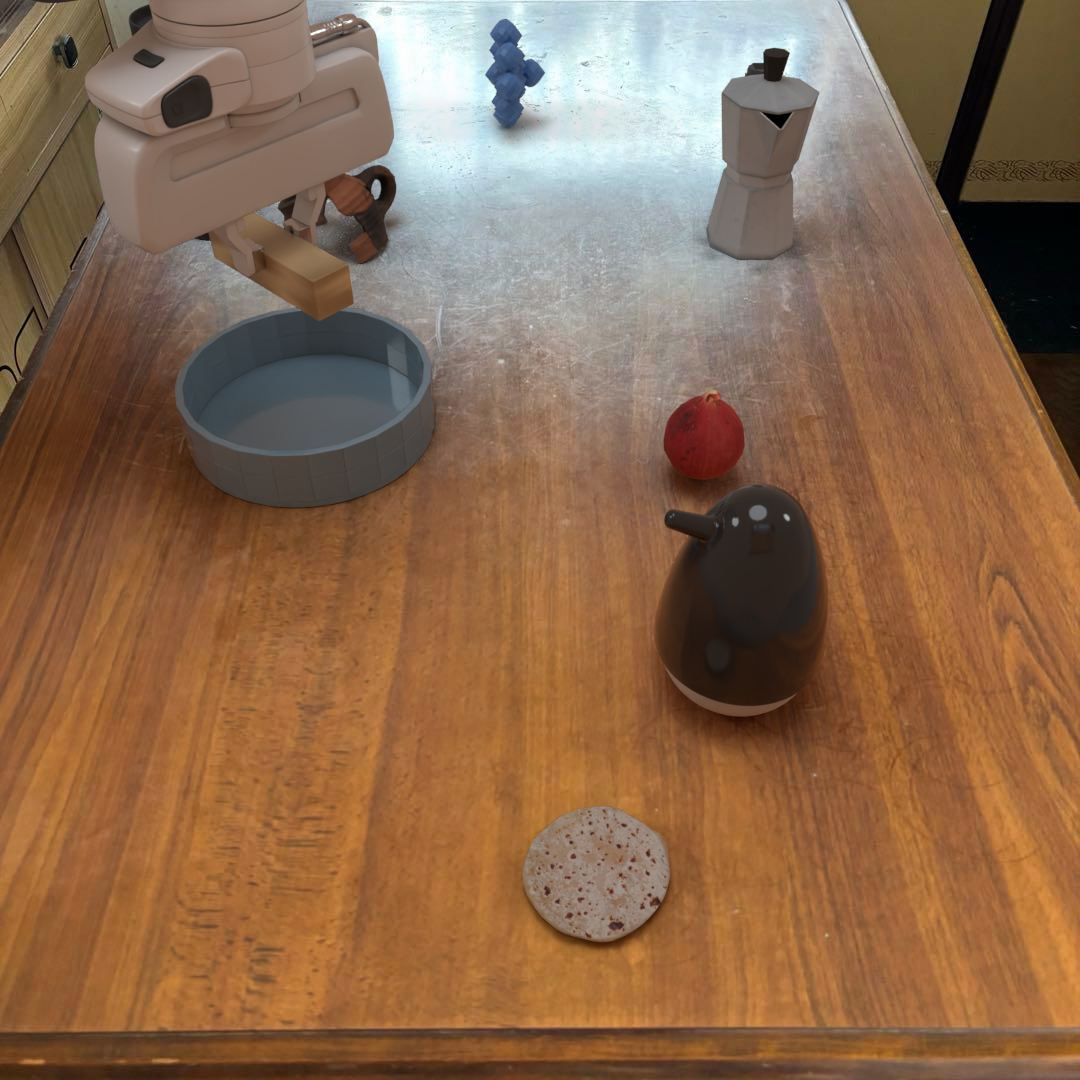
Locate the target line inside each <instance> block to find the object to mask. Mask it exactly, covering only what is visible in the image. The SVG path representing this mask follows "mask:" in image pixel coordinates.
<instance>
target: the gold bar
mask: <svg viewBox="0 0 1080 1080" xmlns="http://www.w3.org/2000/svg"><path fill="white" fill-rule="evenodd" d="M243 220H244V225H245V230H244V231H242V232H240V233H239V232H238V234H239V235H240V236H241V238H242V239H243V240H244V239H246V238H249V239H251V240H252V241H254V243H258V244H259V245H261V246H263V247H264V252H265V253H264V256H265V258H264V260H265V261H266V269H264V270H262V271H259V272H257V273H255V274H253V275H251V276H249V277H247V276H245V275H244V274H242V273H241V272H239V271H238V270H237V269H236V268H235V265H234V262H233V258H232V253H231V249H230V247H229V246H228V245H227V244H226V243H225V242H224V241H223V240H221V239H220V238H219V237H218V236H217V235H216V234H215V233H214V232H213V231H210V232H209V237H210V240H209V241H210V244H211V249H212V253H213V258H214V259H216V260H218V261H220V262H221V263H222V264H224V265H226V266H227V267H229V268H231V269H233V270H234V271H235V272H237V273H239V274H241V275H242V276H244V277H245V278H247V279H249V280H250V281H252V282H254V283H256V284H257V285H259V286H260V287H262V288H264V289H265V290H266V291H269V292H270V293H272V294H274V295H275V296H277V297H279V298H280V299H281V300H283V301H285V302H286V303H288V304H290V305H291V306H293V307H294V308H296V307H297V308H298V309H300V310H301V311H303V312H305V313H306V314H308V315H310V316H311V317H313V318H315V319H316V320H318V321H321V320H323V319H325V318H327V317H329V316H331V315H333V314H334V313H336V312H338V311H340V310H342V309H344V308H349V307H351V306H352V305H354V304H355V300H354V293H353V288H352V287H353V286H352V280H351V272H350V265H349V264H348V263H347V262H345V261H343V260H342V259H340V258H338V257H336V256H335V255H333V254H332V253H331V254H330V252H329V253H328V252H327V251H325V250H324V249H322V248H320V247H319V246H316V245H315V246H314V245H313V244H311V243H309V242H307V241H305V240H304V239H302V238H300V237H298V236H296V235H294V234H293V233H291V232H289V231H287V230H285V229H284V227H282V226H280V225H278V224H277V223H274V222H273V221H272V220H270V219H268V218H266V217H264V216H262V215H261V214H259V213H257V212H254V213H252V214H249V215H247V216H245V217H243Z"/></svg>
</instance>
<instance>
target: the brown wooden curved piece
mask: <svg viewBox="0 0 1080 1080" xmlns="http://www.w3.org/2000/svg"><path fill="white" fill-rule="evenodd" d="M376 180H377V181H378V182H379V185H380V192H379V195H378V197H377V198H375V195H374V194H373V193H372V188H373V185H374V182H375V181H376ZM324 185H325V192H326V196H325V199H324V202H323V205H322V208H321V211H320V214H319V217H318V220H317V222H316V223H315V224H316V226H322V225H323V226H324V225H326V224H327V223H328V219H327V217H326V215H325V213H326V207H327V206H326V205H327V202H328V199H329V200H330V201H331V202H332V204H333V205H334V206H335V208H336V210H337V211H338V212H339V213H340V214H342V215H343V216H344V217H347V218H348V217H350V218H351V217H353V218H354V220H355V221H356V222H358V225H360V227H361V230H362V232H361V233H360V235H359V236H357V237H356V238H355V239H354V240H352V241H351V242H350V243H349V248H350V250H351V251H352V253H354V255H355V257H356V259H357V261H358V262H359V264H363V263H365V262H366V261H368V260H370V259H371V258H373V257H374V256H375V255H376V254H377V253H378V252H379V251H381V250H382V249H383V248H384V247H385V246H386V245H387V244H388V242H389V234H388V232H387V227H386V223H385V218H386V214H387V213H388V211H389V209H390V208H391V207H392V206H393V203H394V201H395V199H396V196H397V182H396V176H395V175H394V174H393V173H392V172H391V170H390V169H389V168H388V167H386V166H385V165H382V164H375V165H371V166H369V167H367V168H365V169H364V170H362V171H361V172H359V173H357V174H355V175H350V174H347V173H344V174H342V175H339V176H337V177H335V178H332V179H330V180H328V181H325V182H324ZM296 195H297V194H295V195H293V196H291V197H288V198H286V199H284V200H282V201H279V202H278V205H277V209H278V211H280V212H281V214H282V215H283V222H284V221H286V220H288V219H290V218H292V214H293V209H294V204H295V200H296Z"/></svg>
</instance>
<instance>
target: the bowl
mask: <svg viewBox="0 0 1080 1080" xmlns="http://www.w3.org/2000/svg"><path fill="white" fill-rule="evenodd" d="M174 395H175V396H174V398H175V407H176V410H177V414H178V417H179V421H180V423H181V427H182V431H183V434H184V438H185V442H186V445H187V448H188V452H189V454H190V456H191V458H192V460H193V462H194V464H195V466H196V468H197V470H198V471H199V472H200V473H201V475H202V476H203V477H204V478H205V479H206V480H207V481H208V482H210V484H212V486H214V487H216V488H218V489H219V490H220V491H222V492H223V493H226V494H228V495H230V496H232V497H234V498H237V499H240V500H243V501H245V502H249V503H253V504H258V505H261V506H267V507H268V506H269V507H277V508H293V509H294V508H299V509H300V508H315V507H316V508H317V507H323V506H329V505H334V504H339V503H342V502H343V503H344V502H347V501H351V500H354V499H357V498H360V497H364V496H366V495H368V494H371V493H372V492H375V491H378V490H380V489H382V488H383V487H386V486H387V485H389V484H391V483H393V482H394V481H396V480H398V478H400V477H401V476H403V475H404V474H405V473H407V472H408V471H410V469H411V468H412V467H414V465H416V463H417V462H418V461H419V460H420V458H422V456H423V455H424V453H425V452H426V450H427V449H428V447H429V445H430V443H431V440H432V438H433V435H434V431H435V427H436V426H435V425H436V416H435V415H436V401H435V389H434V378H433V366H432V361H431V358H430V356H429V354H428V351H427V349H426V346H425V344H424V343H423V342H422V341H421V340H420V339H419V338H418V337H417V336H416V335H415V334H414V332H412V330H410V329H409V328H407V327H406V326H404V325H402V324H400V323H399V322H397V321H396V320H393V319H392V318H390V317H387V316H384V315H381V314H378V313H375V312H372V311H368V310H366V309H361V308H353V307H346V308H344V309H342V310H340V311H338V312H336V313H334V314H333V315H331V316H329V317H327V318H325V319H323V320H321V321H318V320H316V319H315V318H313V317H311V316H310V315H308V314H306V313H305V312H303V311H301V310H300V309H298V308H297V307H290V308H284V309H278V310H273V311H268V312H264V313H261V314H258V315H255V316H251V317H249V318H246V319H243V320H241V321H238V322H236V323H234V324H232V325H230V326H228V327H226V328H224V329H221V330H220V331H218V332H216V333H215V334H213V335H212V336H211V337H210V338H208V339H207V340H206V341H204V342H203V343H202V344H201V345H199V346H197V348H196V349H194V351H193V352H192V353H191V354H190V356H189V357H187V359H186V361H185V362H184V363H183V364H182V366H181V367H180V369H179V373H178V375H177V378H176V381H175V384H174Z"/></svg>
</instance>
